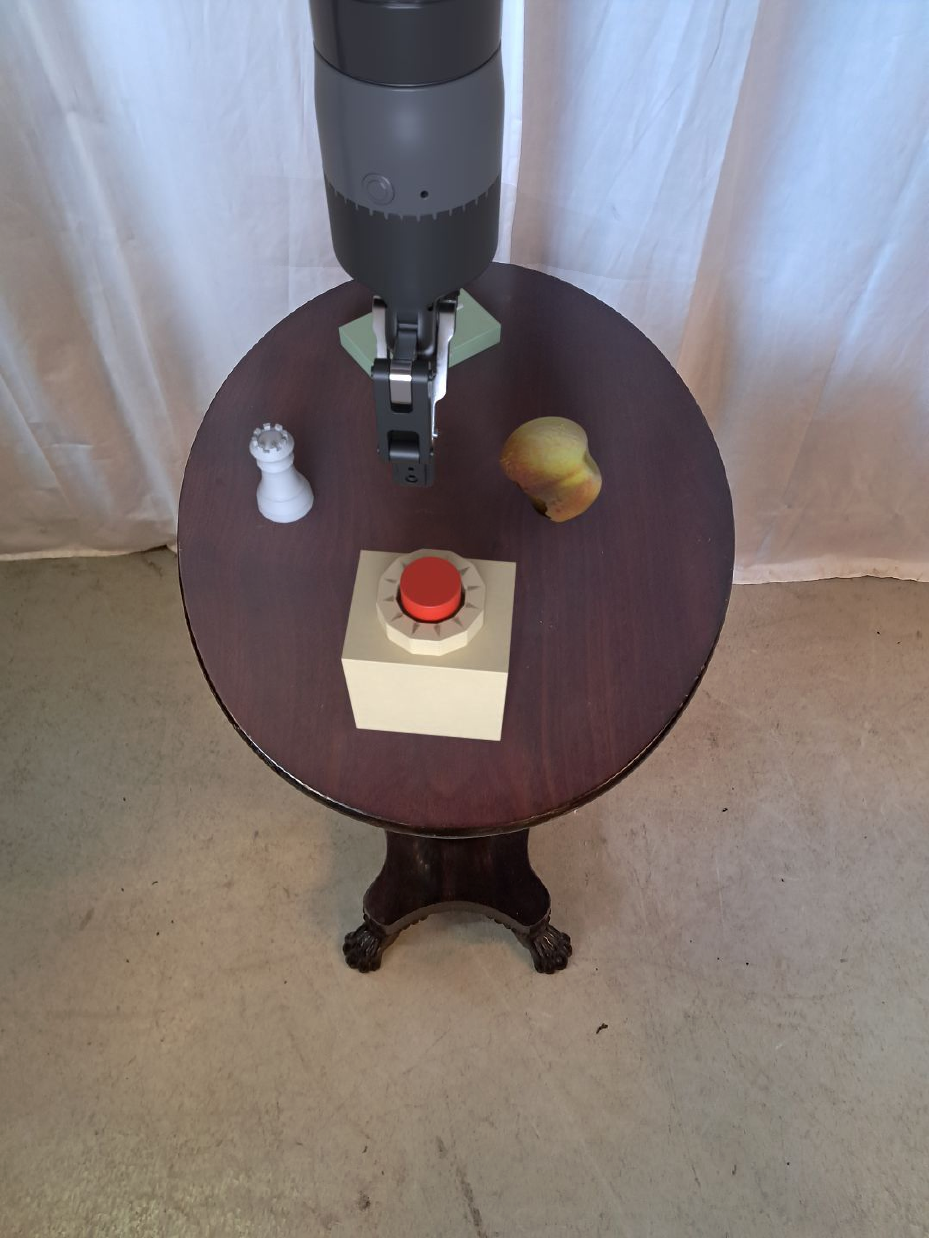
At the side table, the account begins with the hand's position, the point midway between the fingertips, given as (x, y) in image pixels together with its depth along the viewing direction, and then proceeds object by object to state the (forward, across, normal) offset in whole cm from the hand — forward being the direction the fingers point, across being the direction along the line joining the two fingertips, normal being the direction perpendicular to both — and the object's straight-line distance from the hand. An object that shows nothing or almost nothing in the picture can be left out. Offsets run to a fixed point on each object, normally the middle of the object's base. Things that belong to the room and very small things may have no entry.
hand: (422, 422), depth 52 cm
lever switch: (+20, +27, +4) cm, 34 cm away
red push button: (+8, -7, -1) cm, 10 cm away
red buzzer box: (+20, -7, -1) cm, 21 cm away
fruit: (+20, +10, -8) cm, 24 cm away
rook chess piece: (+20, +8, +12) cm, 25 cm away
